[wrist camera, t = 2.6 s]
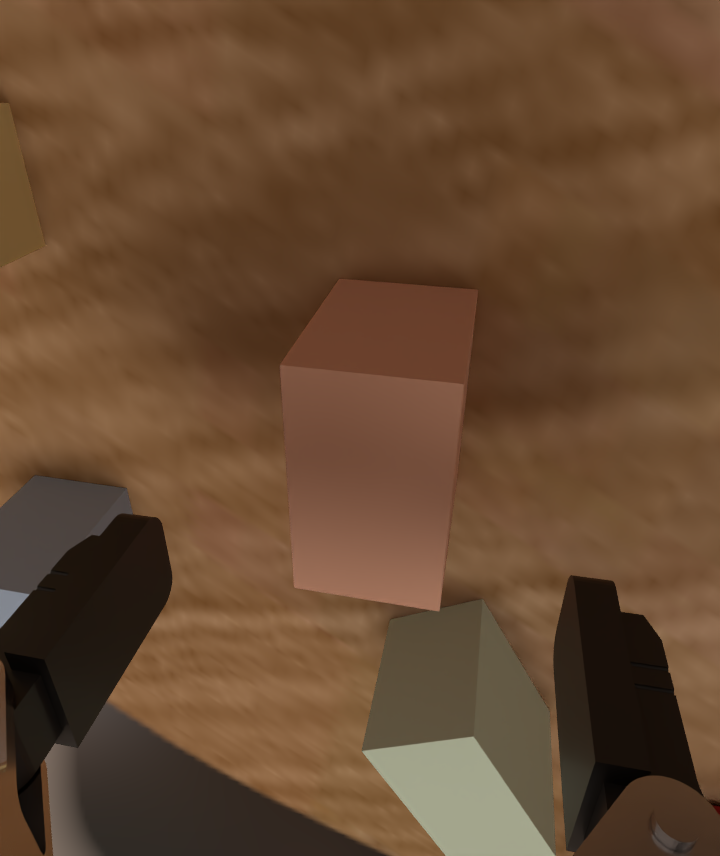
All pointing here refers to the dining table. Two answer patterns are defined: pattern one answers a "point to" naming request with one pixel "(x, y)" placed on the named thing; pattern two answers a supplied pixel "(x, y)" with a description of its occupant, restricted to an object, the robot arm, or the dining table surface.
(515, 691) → the sage brick
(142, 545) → the robot arm
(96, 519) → the slate brick
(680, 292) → the dining table surface
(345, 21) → the dining table surface
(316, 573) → the terracotta brick
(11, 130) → the ochre brick
